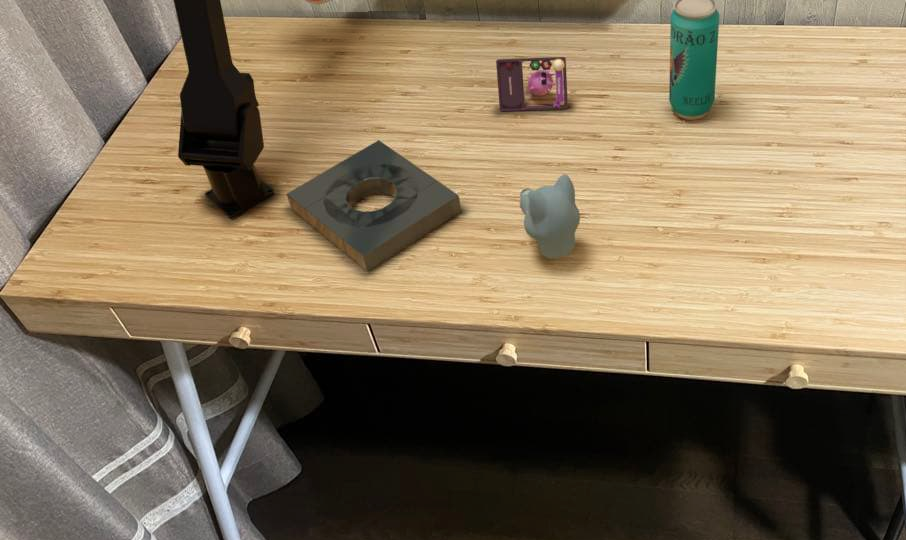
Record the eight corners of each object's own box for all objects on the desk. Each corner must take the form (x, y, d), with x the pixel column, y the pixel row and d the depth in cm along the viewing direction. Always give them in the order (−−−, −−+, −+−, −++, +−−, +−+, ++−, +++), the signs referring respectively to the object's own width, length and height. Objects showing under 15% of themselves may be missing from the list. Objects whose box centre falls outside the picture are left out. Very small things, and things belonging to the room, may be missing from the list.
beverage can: (662, 102, 132) (663, -2, 121) (702, 92, 133) (707, -13, 122) (679, 127, 128) (682, 22, 117) (721, 116, 129) (728, 10, 118)
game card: (495, 61, 130) (565, 58, 129) (499, 51, 134) (567, 49, 133) (499, 112, 133) (567, 110, 132) (503, 101, 137) (569, 99, 136)
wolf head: (549, 214, 119) (542, 145, 112) (592, 254, 114) (588, 186, 106) (505, 236, 117) (495, 168, 110) (546, 278, 112) (539, 210, 104)
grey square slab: (461, 211, 121) (458, 195, 119) (367, 272, 115) (363, 256, 113) (382, 155, 129) (378, 139, 127) (291, 209, 123) (285, 193, 122)
